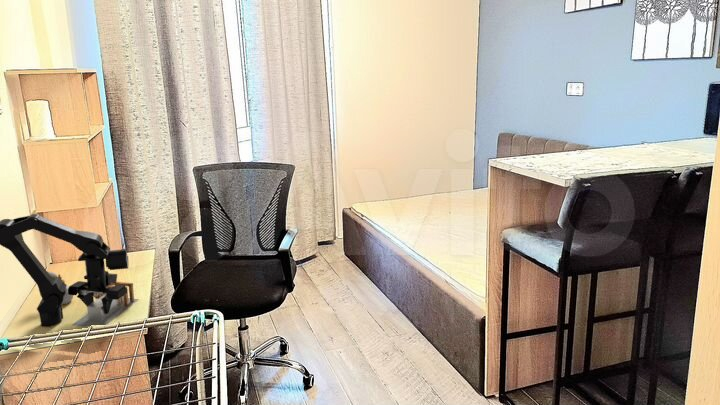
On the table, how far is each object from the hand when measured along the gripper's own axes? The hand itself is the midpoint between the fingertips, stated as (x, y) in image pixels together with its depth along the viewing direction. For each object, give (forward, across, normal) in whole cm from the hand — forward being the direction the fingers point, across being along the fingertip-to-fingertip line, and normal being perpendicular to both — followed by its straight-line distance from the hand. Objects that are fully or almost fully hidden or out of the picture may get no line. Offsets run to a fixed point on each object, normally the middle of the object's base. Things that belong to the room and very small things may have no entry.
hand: (100, 312), depth 177 cm
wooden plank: (+2, +7, -11) cm, 13 cm away
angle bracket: (+2, 0, -13) cm, 13 cm away
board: (+2, 0, -4) cm, 4 cm away
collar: (+2, 0, -9) cm, 10 cm away
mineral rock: (+3, +12, -18) cm, 21 cm away
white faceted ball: (+2, +21, -7) cm, 23 cm away
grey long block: (+1, 0, -5) cm, 5 cm away
